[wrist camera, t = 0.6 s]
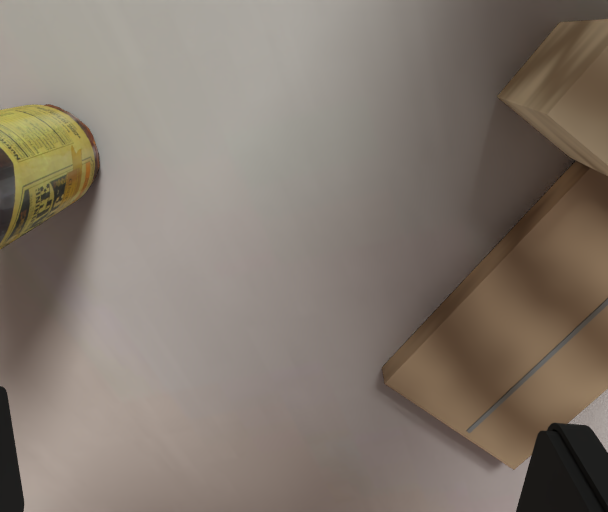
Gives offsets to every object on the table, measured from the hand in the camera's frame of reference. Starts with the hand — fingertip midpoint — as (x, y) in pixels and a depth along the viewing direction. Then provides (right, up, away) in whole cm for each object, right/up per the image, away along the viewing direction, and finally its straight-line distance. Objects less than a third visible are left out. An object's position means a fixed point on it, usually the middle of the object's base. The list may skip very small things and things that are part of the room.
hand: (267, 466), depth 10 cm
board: (+18, +1, +27) cm, 33 cm away
